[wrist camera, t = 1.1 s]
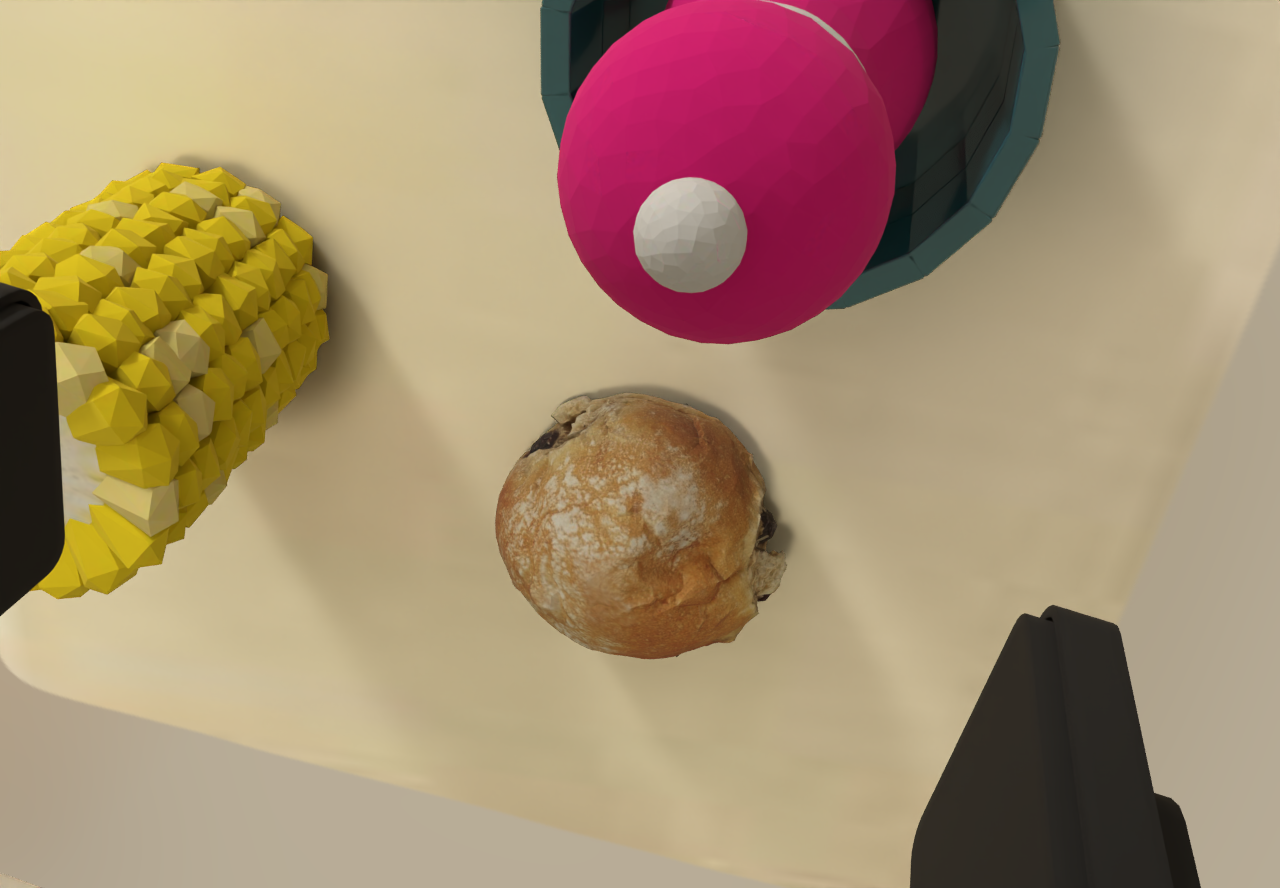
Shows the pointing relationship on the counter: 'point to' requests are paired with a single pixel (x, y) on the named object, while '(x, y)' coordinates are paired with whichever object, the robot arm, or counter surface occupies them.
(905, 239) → the pot
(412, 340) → the counter surface
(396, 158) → the counter surface
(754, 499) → the bread roll
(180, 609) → the counter surface
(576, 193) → the pepper mill
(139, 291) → the food
